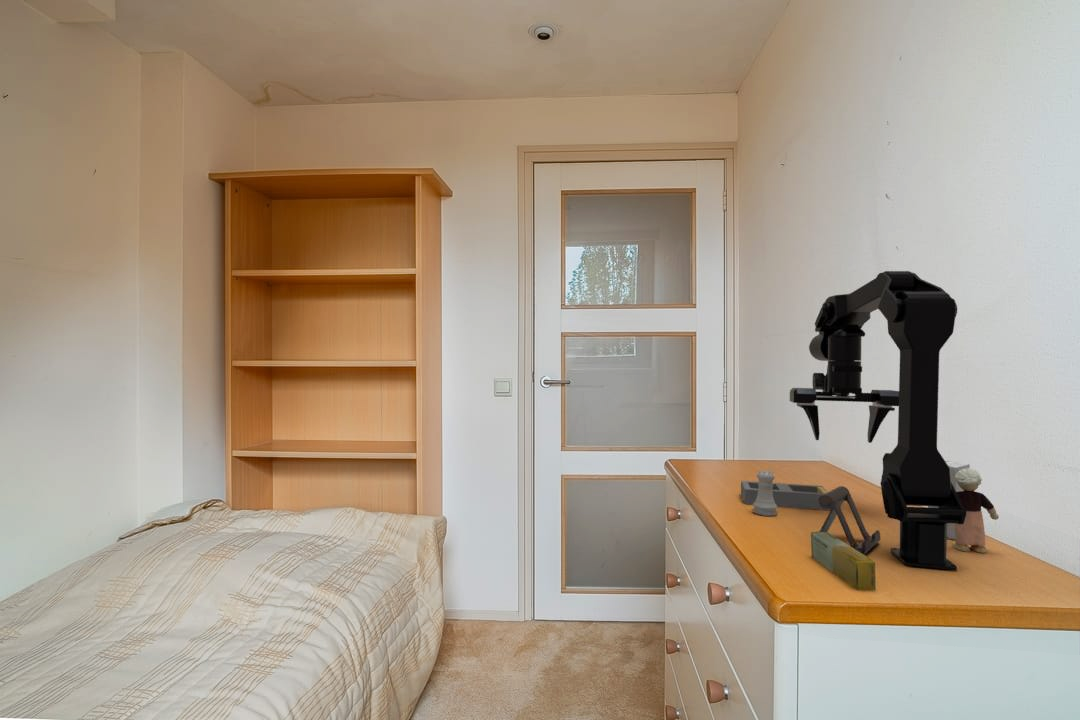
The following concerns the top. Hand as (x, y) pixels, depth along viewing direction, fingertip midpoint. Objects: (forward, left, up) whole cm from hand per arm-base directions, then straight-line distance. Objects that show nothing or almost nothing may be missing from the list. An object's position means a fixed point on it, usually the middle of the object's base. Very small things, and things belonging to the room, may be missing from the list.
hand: (843, 441), depth 109 cm
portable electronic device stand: (-21, +5, -14) cm, 26 cm away
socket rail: (+4, +10, -14) cm, 17 cm away
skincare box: (-10, -14, -14) cm, 22 cm away
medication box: (-34, +9, -14) cm, 38 cm away
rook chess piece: (-6, +15, -14) cm, 21 cm away
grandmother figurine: (-18, -13, -14) cm, 26 cm away
